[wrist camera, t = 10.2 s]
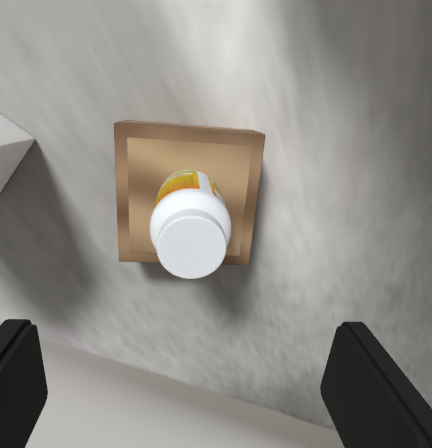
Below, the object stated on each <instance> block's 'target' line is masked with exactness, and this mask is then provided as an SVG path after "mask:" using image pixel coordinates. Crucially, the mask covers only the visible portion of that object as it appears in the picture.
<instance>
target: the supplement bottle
mask: <svg viewBox="0 0 432 448" xmlns="http://www.w3.org/2000/svg"><path fill="white" fill-rule="evenodd" d="M150 237H151V241H152V243H153V245H154V247H155V249H156V250H157V255H158V258H159V260H160V262H161V264H162V265H163V266H164V268H165V269H166V270H167V271H169V272H170V273H171V274H173V275H175V276H177V277H181V278H185V279H197V278H201V277H205V276H207V275H209V274H211V273H212V272H214V271H215V270H216V269H217V268H218V267H219V266H220V265H221V263H222V261H223V259H224V257H225V254H226V247H227V245H228V243H229V240H230V237H231V219H230V215H229V213H228V210H227V208H226V205H225V203H224V200H223V198H222V195H221V193H220V191H219V189H218V187H217V185H216V184H215V182H214V181H213V180H212V179H211V178H210V177H209V176H207V175H206V174H204V173H202V172H199V171H195V170H184V171H180V172H177V173H174V174H173V175H171V176H170V177H168V178H167V179H166V180H165V181H164V183H163V184H162V186H161V188H160V190H159V192H158V195H157V199H156V202H155V205H154V209H153V212H152V216H151V219H150Z"/></svg>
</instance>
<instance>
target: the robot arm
mask: <svg viewBox="0 0 432 448" xmlns="http://www.w3.org/2000/svg"><path fill="white" fill-rule="evenodd" d="M320 390H321V395H322V398H323V401H324V403H325V405H326V407H327V409H328V412H329V414H330V416H331V418H332V420H333V423H334V425H335V427H336V429H337V431H338V433H339V436H340V438H341V440H342V442H343V445H344V447H345V448H432V409H431V407H430V406H429V405H428V403H427V402H426V401H425V400H424V398H423V397H422V396H421V395H420V393H419V392H418V391H417V390H416V388H415V387H414V386H413V384H412V383H411V382H410V381H409V379H408V378H407V377H406V376H405V374H404V373H403V372H402V371H401V369H400V368H399V367H398V365H397V364H396V363H395V362H394V360H393V359H392V358H391V357H390V355H389V354H388V353H387V352H386V350H385V349H384V348H383V346H382V345H381V344H380V343H379V341H378V340H377V339H376V338H375V336H374V335H373V334H372V333H371V331H370V330H369V329H368V328H367V326H366V325H365V324H364V323H363V322H343V323H342V325H341V326H338V327H337V329H336V333H335V336H334V340H333V343H332V347H331V350H330V354H329V357H328V361H327V365H326V368H325V372H324V375H323V379H322V382H321V387H320ZM47 394H48V390H47V384H46V378H45V372H44V366H43V360H42V354H41V348H40V342H39V336H38V330H37V326H36V325H32V324H31V321H30V320H27V319H8V320H5V321H4V322H3V323H2V324H1V326H0V448H25V446H26V444H27V442H28V439H29V437H30V435H31V433H32V431H33V429H34V427H35V424H36V422H37V420H38V418H39V416H40V414H41V411H42V409H43V407H44V405H45V402H46V399H47Z"/></svg>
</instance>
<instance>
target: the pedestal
mask: <svg viewBox="0 0 432 448" xmlns="http://www.w3.org/2000/svg"><path fill="white" fill-rule="evenodd" d="M114 141H115V168H116V195H117V223H118V250H119V262H156V263H161V262H160V260H159V258H158V255H157V250H156V249H155V247H154V245H153V243H152V241H151V237H150V219H151V216H152V212H153V209H154V205H155V202H156V199H157V195H158V192H159V190H160V188H161V186H162V184H163V183H164V181H165V180H166V179H167V178H168V177H170V176H171V175H173V174H174V173H177V172H180V171H184V170H195V171H199V172H202V173H204V174H206V175H207V176H209V177H210V178H211V179H212V180H213V181H214V182H215V184H216V185H217V187H218V189H219V191H220V193H221V195H222V198H223V200H224V203H225V205H226V208H227V210H228V213H229V215H230V219H231V237H230V240H229V243H228V245H227V247H226V254H225V257H224V259H223V261H222V263H221V264H230V265H248V264H249V256H250V249H251V241H252V234H253V226H254V218H255V211H256V203H257V196H258V188H259V180H260V173H261V165H262V158H263V150H264V142H265V134H262V133H260V132H257V131H254V130H246V129H233V128H220V127H207V126H194V125H181V124H168V123H155V122H143V121H130V120H125V121H121V122H117V123H114Z"/></svg>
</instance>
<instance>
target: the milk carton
mask: <svg viewBox="0 0 432 448" xmlns="http://www.w3.org/2000/svg"><path fill="white" fill-rule="evenodd" d="M33 142H34V138H33V137H32V136H30V135H29V134H27V133H26V132H25V131H23V130H22V129H20V128H19V127H18V126H16V125H15V124H13V123H12V122H11V121H9V120H8V119H6V118H5V117H4V116H2V115H1V114H0V192H1V191H2V189H3V188H4V186H5V185H6V183H7V182H8V180H9V179H10V177H11V176H12V174H13V172H14V171H15V169H16V168H17V166H18V165H19V163H20V162H21V160H22V159H23V157H24V156H25V154H26V153H27V151H28V150H29V148H30V147H31V145H32V143H33Z"/></svg>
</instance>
